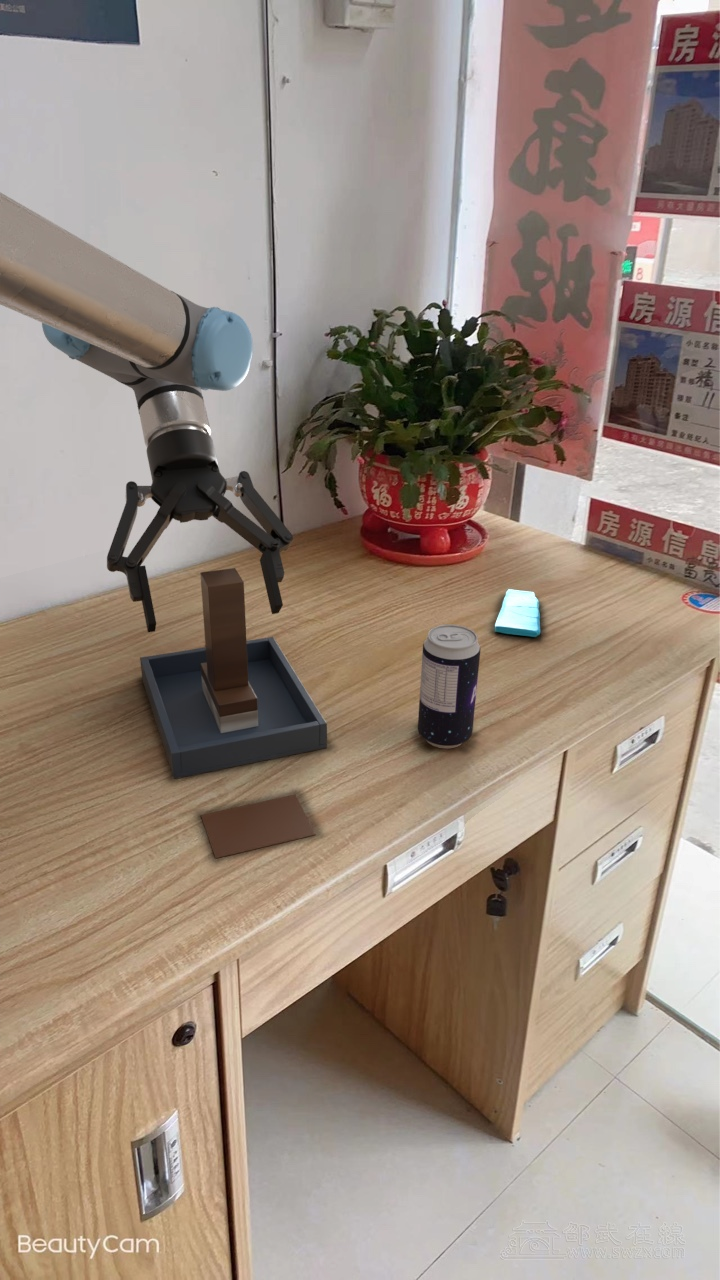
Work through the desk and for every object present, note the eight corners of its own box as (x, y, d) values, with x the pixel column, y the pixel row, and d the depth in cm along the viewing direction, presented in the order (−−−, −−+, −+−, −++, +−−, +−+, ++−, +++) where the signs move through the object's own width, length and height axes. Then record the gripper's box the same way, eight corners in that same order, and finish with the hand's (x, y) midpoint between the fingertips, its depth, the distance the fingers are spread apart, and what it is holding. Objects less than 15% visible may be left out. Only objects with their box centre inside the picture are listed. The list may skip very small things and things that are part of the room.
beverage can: (476, 752, 90) (487, 649, 84) (421, 753, 89) (428, 650, 84) (466, 721, 95) (475, 622, 89) (413, 722, 94) (419, 623, 89)
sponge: (549, 594, 121) (508, 584, 122) (540, 633, 111) (494, 622, 112) (547, 604, 122) (505, 594, 123) (537, 644, 112) (492, 632, 113)
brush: (258, 726, 92) (252, 592, 85) (220, 733, 91) (212, 598, 84) (237, 684, 100) (230, 557, 92) (202, 690, 98) (192, 562, 91)
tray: (174, 779, 85) (171, 753, 83) (142, 680, 101) (139, 657, 100) (327, 747, 90) (327, 723, 89) (273, 658, 106) (273, 636, 105)
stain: (215, 858, 75) (215, 857, 75) (200, 815, 80) (200, 814, 80) (315, 834, 78) (315, 834, 78) (295, 794, 83) (295, 794, 83)
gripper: (279, 450, 107) (318, 613, 102) (65, 468, 99) (96, 646, 94) (291, 417, 100) (334, 590, 95) (62, 434, 92) (95, 624, 87)
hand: (216, 618), depth 94 cm, fingers open, 13 cm apart
